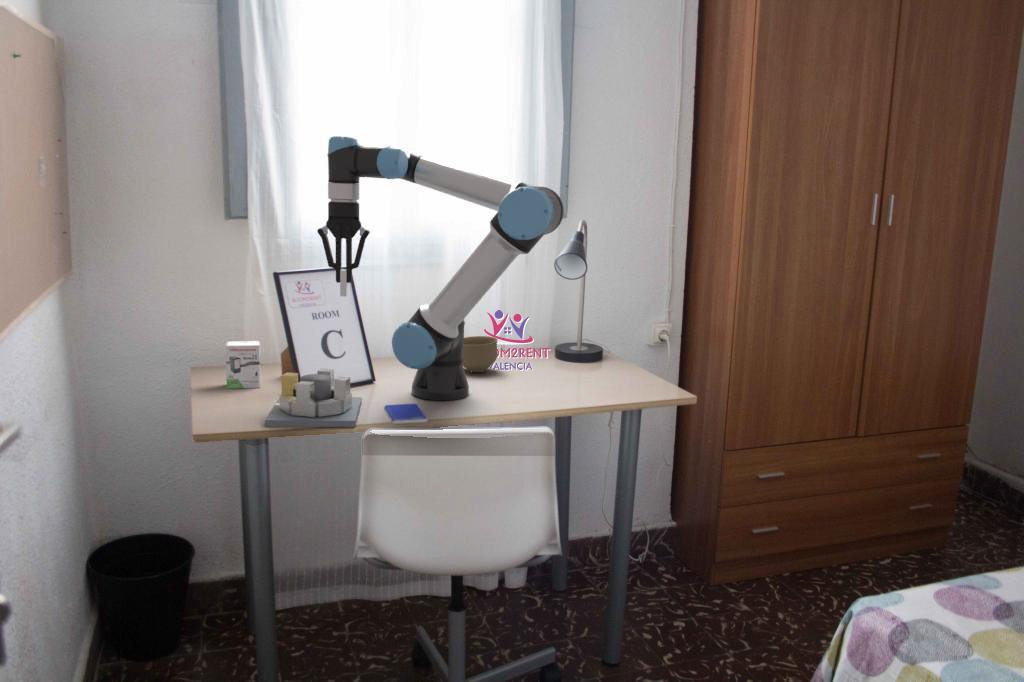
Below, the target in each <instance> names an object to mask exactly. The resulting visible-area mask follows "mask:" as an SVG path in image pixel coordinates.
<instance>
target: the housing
mask: <svg viewBox="0 0 1024 682" xmlns="http://www.w3.org/2000/svg"><path fill="white" fill-rule="evenodd" d="M300 381H307V382H314V401H320V400H328V399H331V376H329V375H324V374H318V373H310V374H305V375H302V376H301V377H300ZM362 399H363V398H362V397H361V396H352V407H350V408H349V409H348V410H347V411H345V412H344V413H341V414H335V415H329V416H322V417H318V416H316V417H308V416H296V415H292V414H287V413H286V412H284V411H283V410H281V409H280V397H279V398H278V399H277V401H276V403H275V404H274V405H273V406H272V408H271V411H270V412H269V413H268V414H267V417H266V418H265V424H264V425H265V427H269V428H270V427H275V428H276V427H277V428H279V427H280V428H281V427H289V428H290V427H292V428H293V427H296V428H298V427H299V428H302V427H303V428H306V427H307V428H355V427H356V426H357V422H358V419H359V414H360V409H361V406H362V403H363V401H362Z"/></svg>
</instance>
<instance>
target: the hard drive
mask: <svg viewBox="0 0 1024 682" xmlns="http://www.w3.org/2000/svg"><path fill="white" fill-rule="evenodd" d="M383 409H384V410H385V411H384V412H385V413H386V414H387V415H388V418H389V420H390V421H391V422H392V425H396V424H411V423H412V424H413V423H414V424H415V423H428V418H427V416H426V415H425V414H424V412H423V411H422V410H421V408H420V407H419V405H418V404H416V403H407V404H406V403H404V404H402V403H401V404H385V405H384V408H383Z"/></svg>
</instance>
